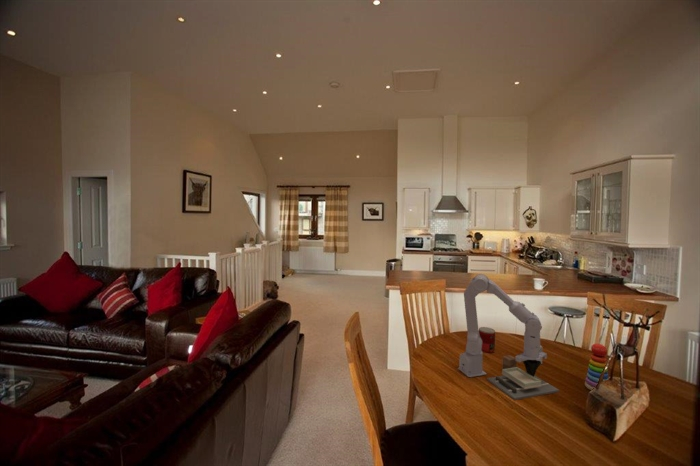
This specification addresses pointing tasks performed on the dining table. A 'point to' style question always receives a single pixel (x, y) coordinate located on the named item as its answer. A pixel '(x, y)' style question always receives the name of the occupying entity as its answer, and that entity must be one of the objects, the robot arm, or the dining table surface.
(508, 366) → the walnut block
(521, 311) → the robot arm
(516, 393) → the track
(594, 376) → the stacking toy
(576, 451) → the dining table surface
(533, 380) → the cream tray
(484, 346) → the canned food
